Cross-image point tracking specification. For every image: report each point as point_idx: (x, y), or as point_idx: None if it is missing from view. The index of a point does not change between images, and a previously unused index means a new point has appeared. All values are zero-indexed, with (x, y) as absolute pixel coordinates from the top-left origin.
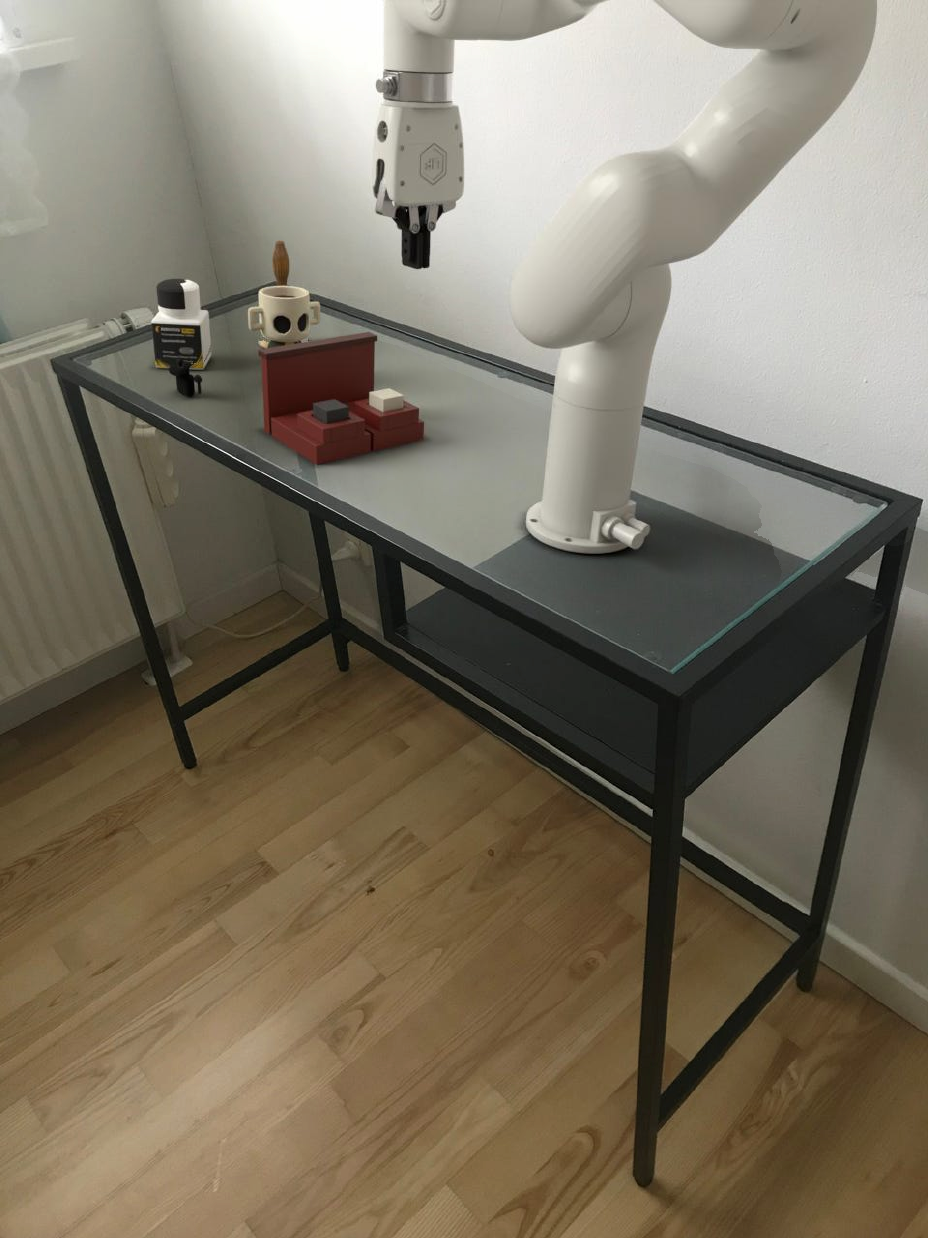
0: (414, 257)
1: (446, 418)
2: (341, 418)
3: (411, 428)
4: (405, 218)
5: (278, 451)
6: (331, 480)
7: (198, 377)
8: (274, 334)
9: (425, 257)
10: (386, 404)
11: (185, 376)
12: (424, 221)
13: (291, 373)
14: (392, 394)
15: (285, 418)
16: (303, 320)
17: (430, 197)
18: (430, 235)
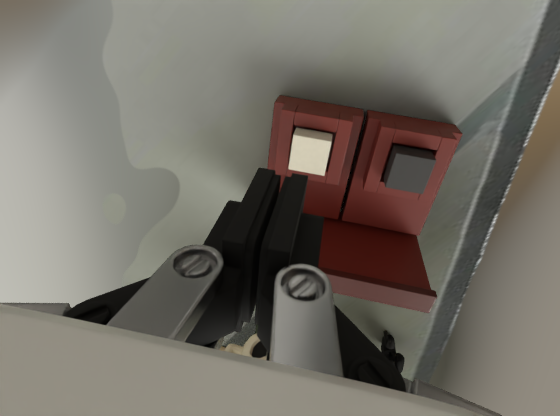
0: (301, 213)
1: (204, 128)
2: (407, 148)
3: (298, 103)
4: (344, 350)
5: (448, 186)
6: (488, 71)
7: (392, 344)
8: None
9: (269, 187)
10: (326, 137)
11: (398, 353)
12: (210, 304)
13: (387, 265)
14: (305, 147)
15: (408, 223)
16: (259, 351)
17: (200, 394)
18: (204, 244)
